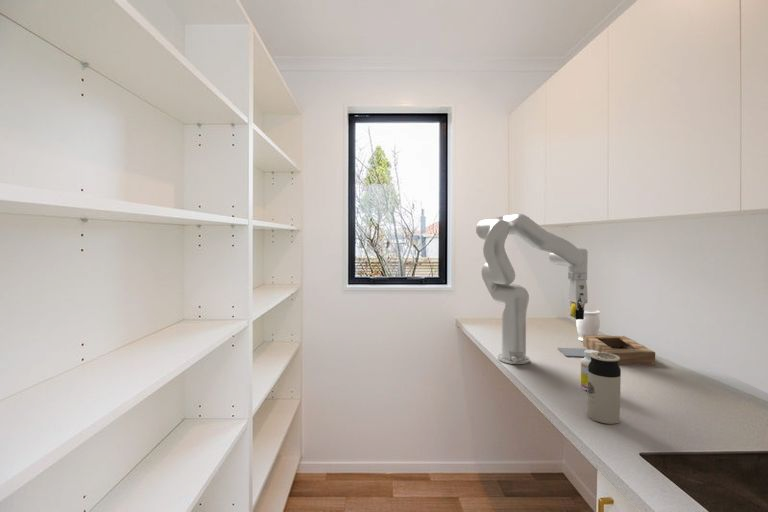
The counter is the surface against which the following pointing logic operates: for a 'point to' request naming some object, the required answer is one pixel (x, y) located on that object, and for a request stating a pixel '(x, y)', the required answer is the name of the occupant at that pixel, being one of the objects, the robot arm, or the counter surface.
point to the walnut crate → (628, 355)
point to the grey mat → (572, 352)
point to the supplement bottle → (585, 368)
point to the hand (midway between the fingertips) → (576, 317)
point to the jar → (588, 323)
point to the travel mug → (604, 388)
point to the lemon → (573, 310)
